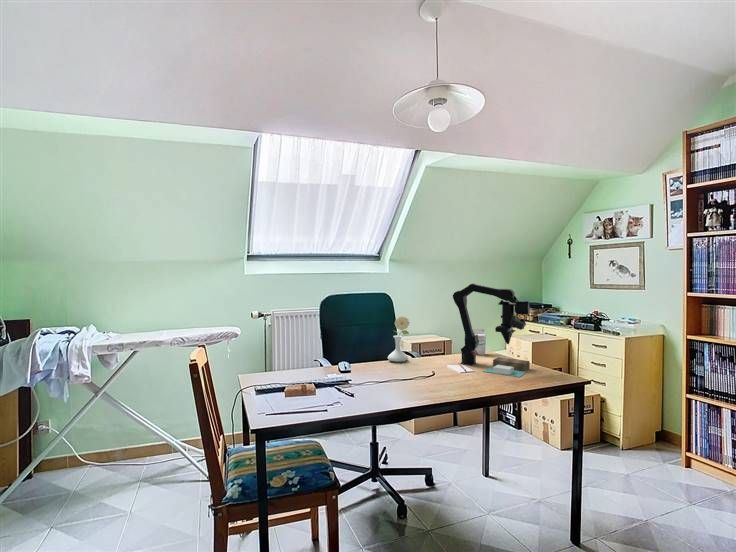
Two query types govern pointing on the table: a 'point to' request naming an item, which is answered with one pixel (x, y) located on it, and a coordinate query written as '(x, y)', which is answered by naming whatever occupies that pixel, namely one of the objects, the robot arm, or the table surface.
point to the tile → (503, 369)
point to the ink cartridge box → (482, 344)
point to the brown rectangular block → (512, 363)
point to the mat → (515, 374)
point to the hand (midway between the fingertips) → (507, 344)
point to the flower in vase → (397, 353)
